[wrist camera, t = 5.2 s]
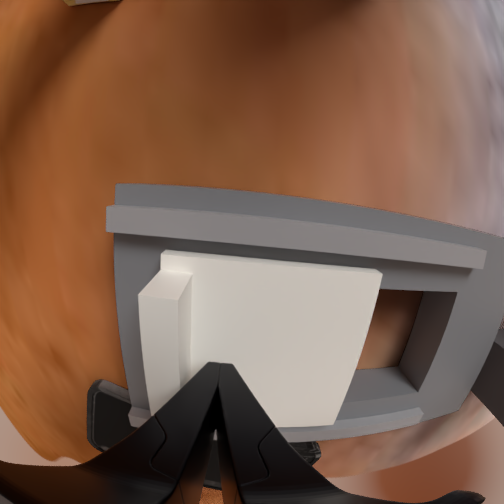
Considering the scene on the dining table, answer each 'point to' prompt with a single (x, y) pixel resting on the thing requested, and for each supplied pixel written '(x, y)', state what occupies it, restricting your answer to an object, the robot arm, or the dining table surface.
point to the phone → (118, 427)
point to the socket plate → (330, 253)
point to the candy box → (83, 1)
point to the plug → (492, 379)
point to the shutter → (258, 329)
